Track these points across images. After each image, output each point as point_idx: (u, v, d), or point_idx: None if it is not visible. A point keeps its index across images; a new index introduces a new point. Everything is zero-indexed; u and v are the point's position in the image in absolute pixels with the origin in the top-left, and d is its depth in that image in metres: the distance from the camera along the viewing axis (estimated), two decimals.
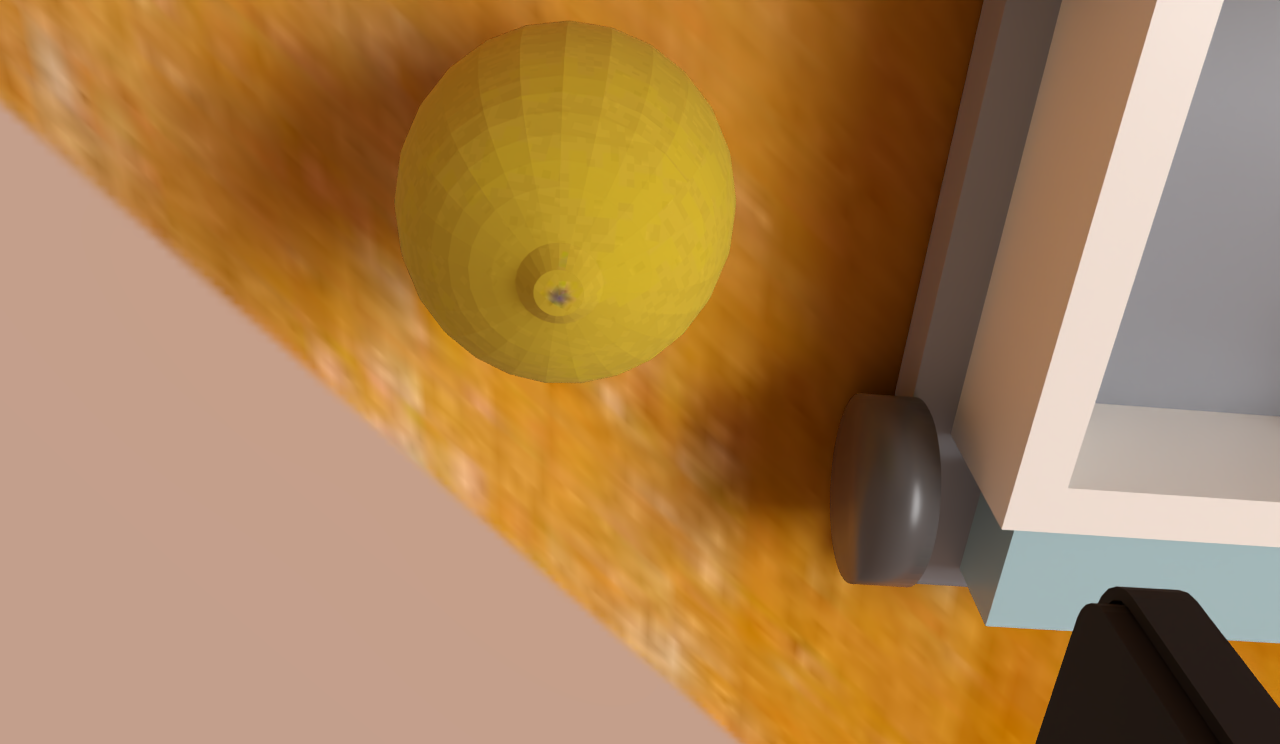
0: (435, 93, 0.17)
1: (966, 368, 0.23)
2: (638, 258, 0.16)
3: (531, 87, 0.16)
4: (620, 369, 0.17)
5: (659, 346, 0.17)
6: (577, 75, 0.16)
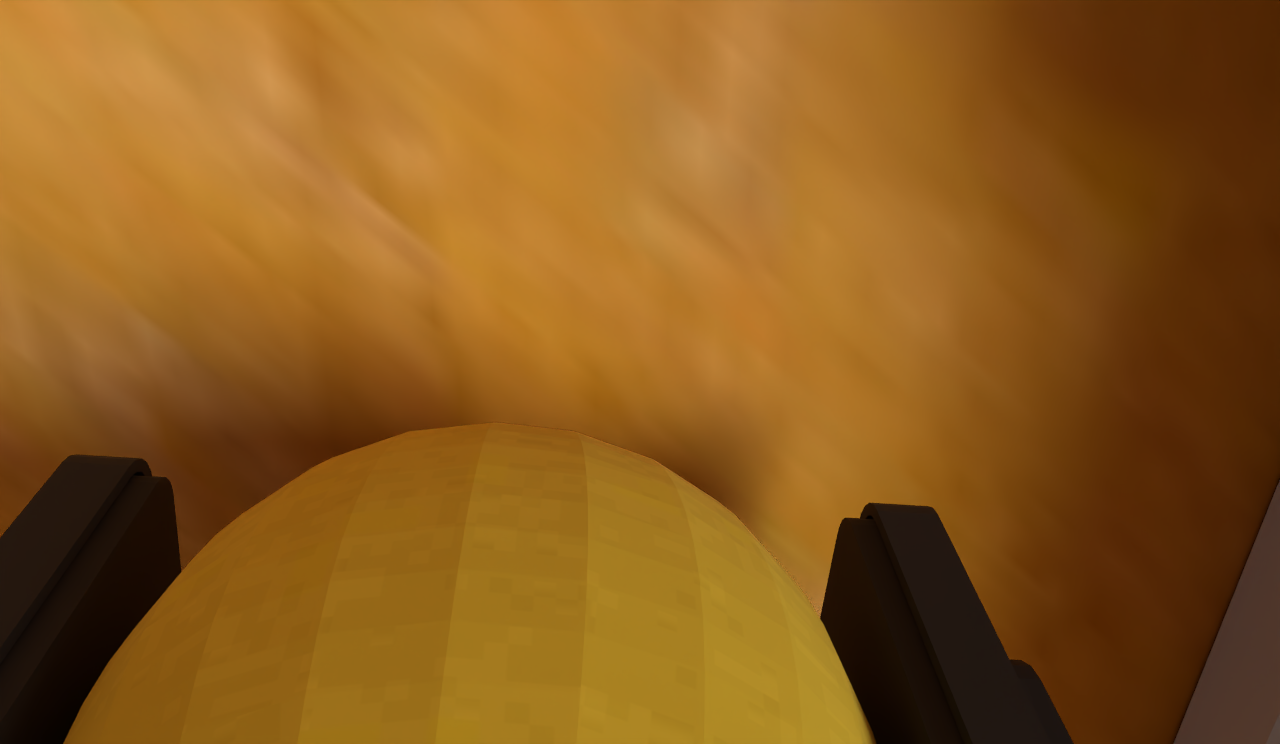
0: (89, 735, 0.06)
1: None
2: None
3: None
4: None
5: None
6: None
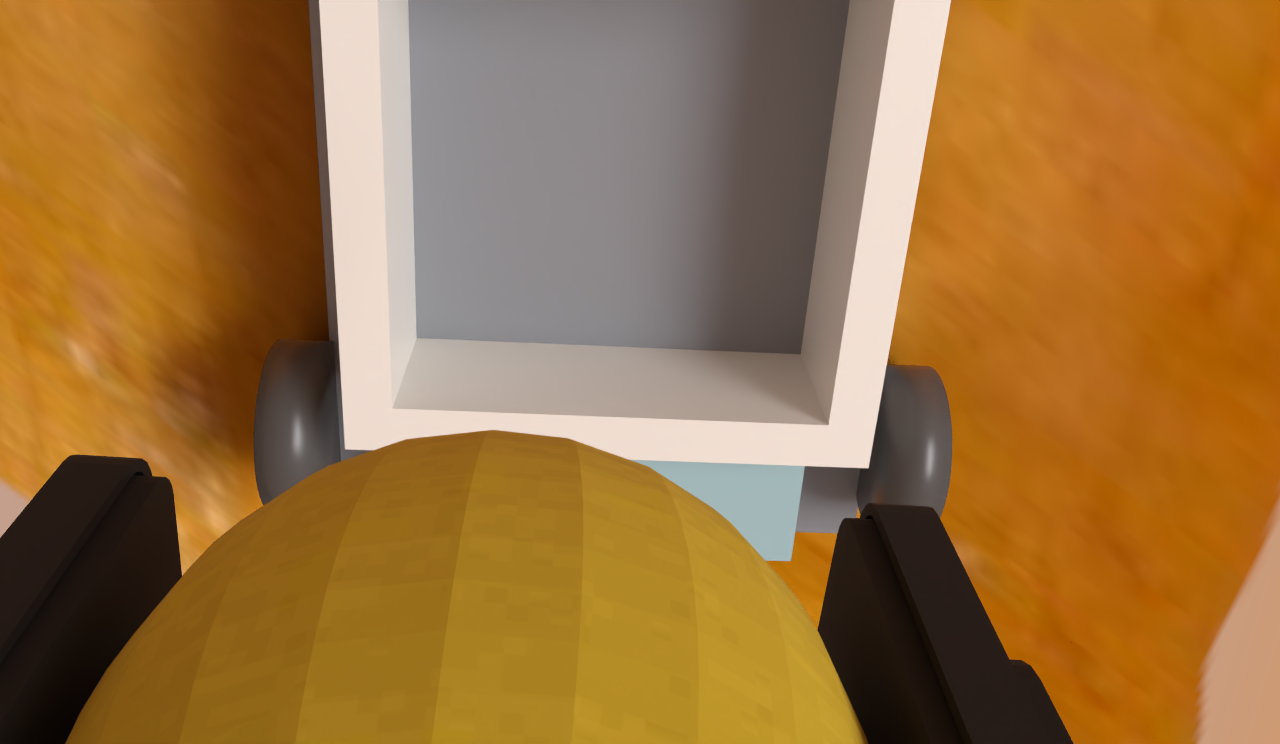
0: (87, 743, 0.06)
1: None
2: None
3: None
4: None
5: None
6: None
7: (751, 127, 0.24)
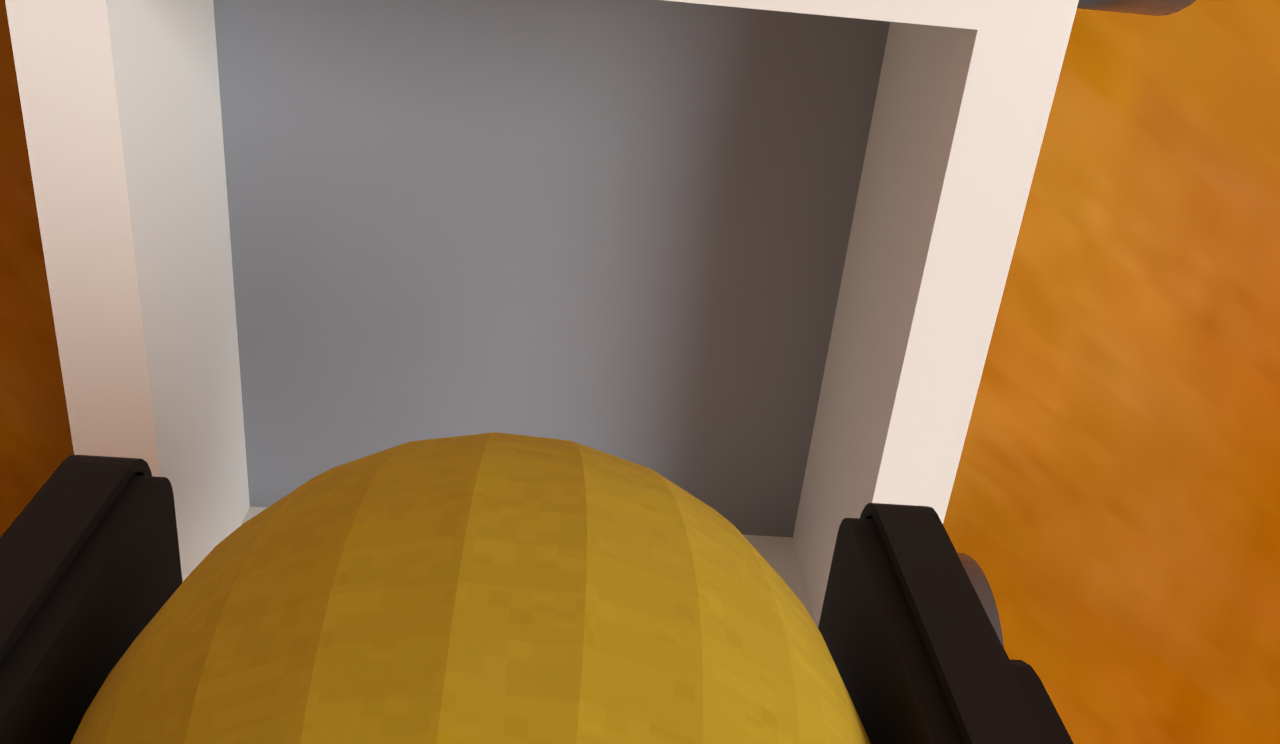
0: None
1: None
2: None
3: None
4: None
5: None
6: None
7: (731, 233, 0.17)
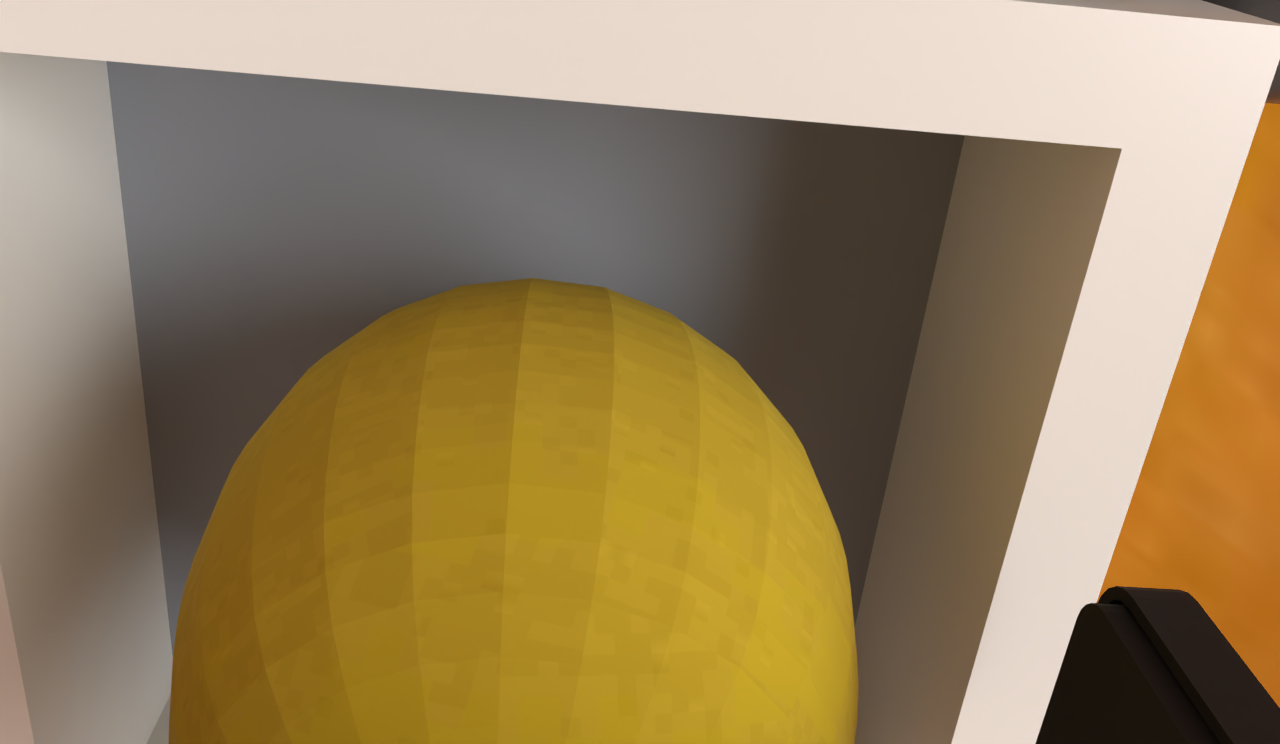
0: (251, 465, 0.08)
1: None
2: None
3: (436, 518, 0.07)
4: None
5: None
6: (540, 481, 0.07)
7: (766, 365, 0.13)
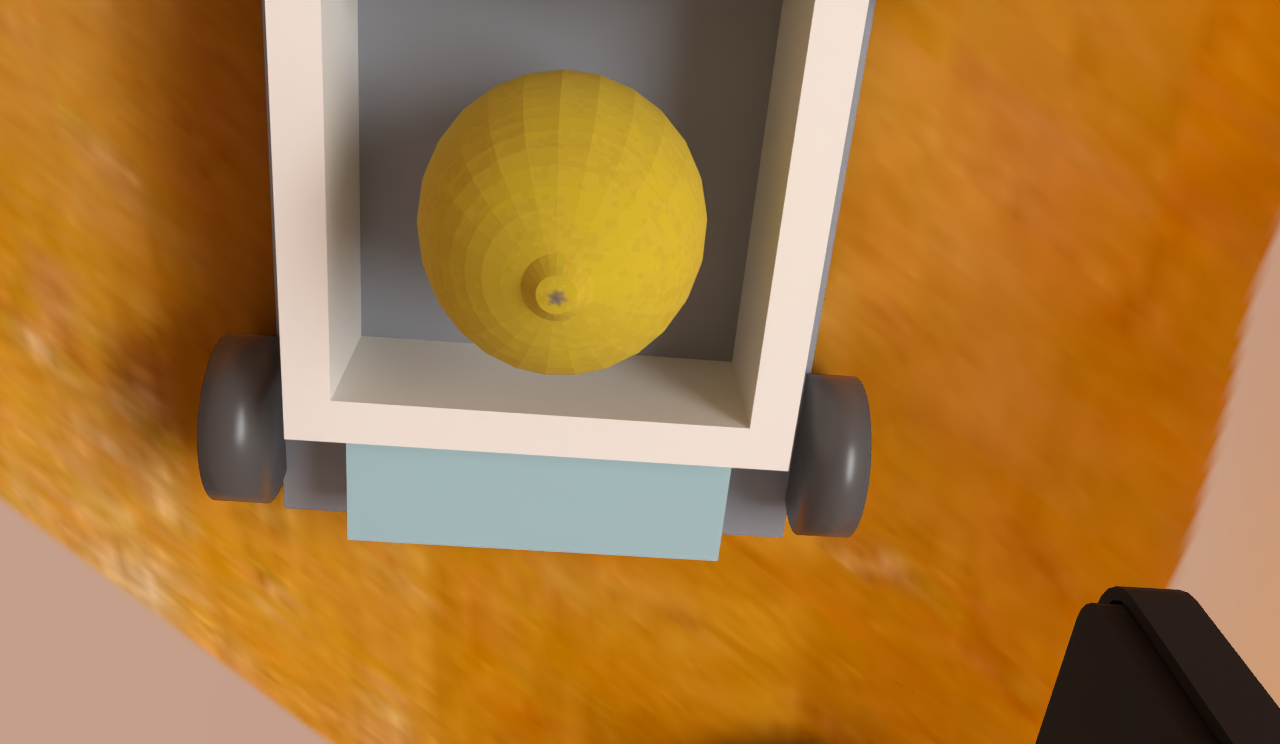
0: (452, 131, 0.20)
1: None
2: (622, 266, 0.19)
3: (533, 126, 0.19)
4: (609, 362, 0.20)
5: (642, 342, 0.20)
6: (570, 115, 0.19)
7: None
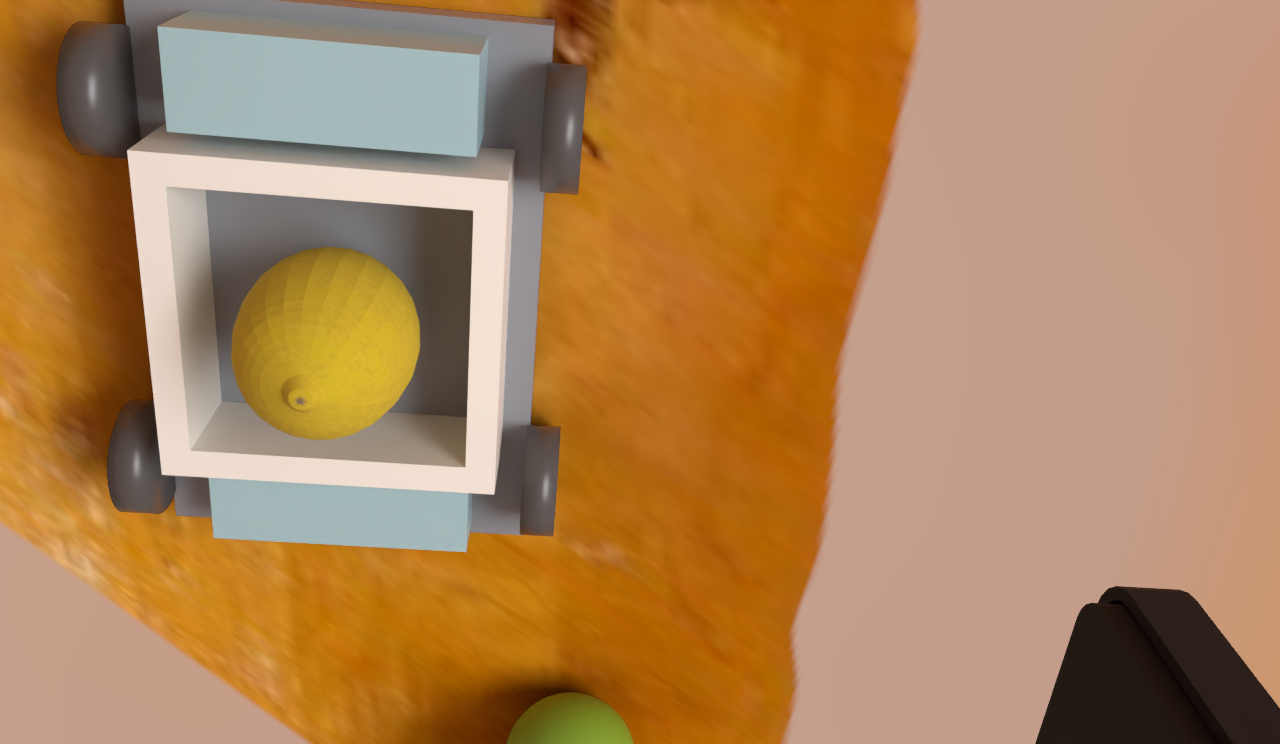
0: (249, 294, 0.33)
1: None
2: (342, 379, 0.32)
3: (289, 297, 0.32)
4: (348, 432, 0.33)
5: (367, 420, 0.33)
6: (312, 289, 0.32)
7: (428, 278, 0.38)
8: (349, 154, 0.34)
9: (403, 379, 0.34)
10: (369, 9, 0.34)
